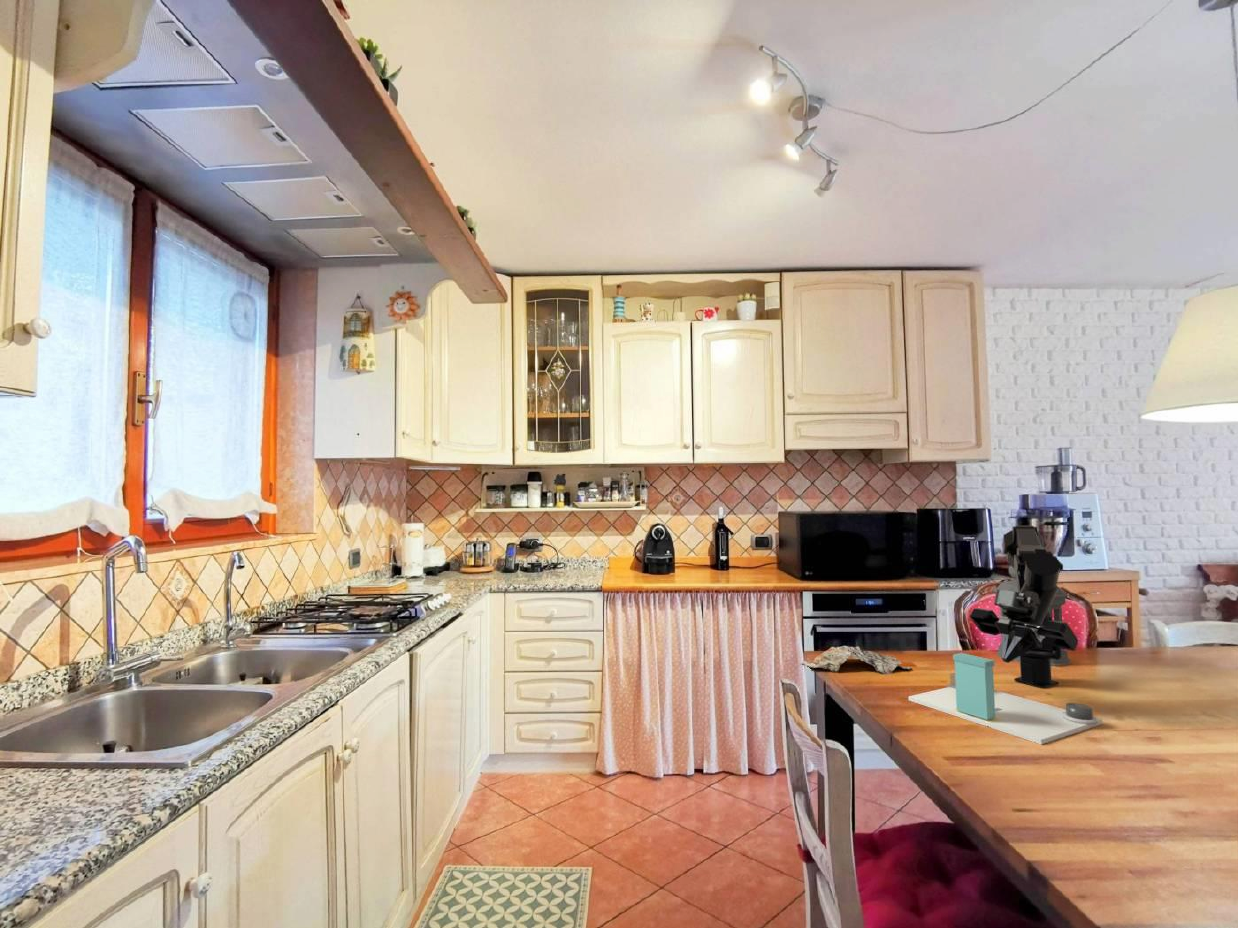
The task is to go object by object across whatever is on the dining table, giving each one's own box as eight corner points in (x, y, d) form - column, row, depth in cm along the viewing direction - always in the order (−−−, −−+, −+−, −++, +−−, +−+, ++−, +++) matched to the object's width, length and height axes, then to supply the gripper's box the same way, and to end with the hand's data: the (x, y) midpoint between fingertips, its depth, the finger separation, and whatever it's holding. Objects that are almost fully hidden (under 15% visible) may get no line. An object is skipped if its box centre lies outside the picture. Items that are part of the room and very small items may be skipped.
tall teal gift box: (964, 707, 119) (961, 652, 119) (996, 717, 113) (994, 660, 114) (955, 709, 117) (952, 654, 118) (987, 720, 112) (985, 662, 112)
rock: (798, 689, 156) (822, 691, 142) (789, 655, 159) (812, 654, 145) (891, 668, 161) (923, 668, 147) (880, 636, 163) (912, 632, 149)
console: (965, 685, 136) (964, 669, 136) (1105, 724, 112) (1104, 705, 112) (906, 699, 127) (905, 682, 127) (1045, 745, 103) (1044, 724, 103)
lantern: (1086, 661, 155) (1078, 526, 157) (1048, 670, 148) (1041, 528, 150) (1019, 647, 170) (1012, 524, 172) (982, 654, 163) (976, 525, 165)
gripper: (972, 570, 132) (942, 626, 127) (1066, 580, 116) (1036, 645, 110) (996, 603, 135) (967, 659, 130) (1091, 617, 119) (1062, 682, 113)
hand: (1004, 660), depth 121 cm, fingers closed
